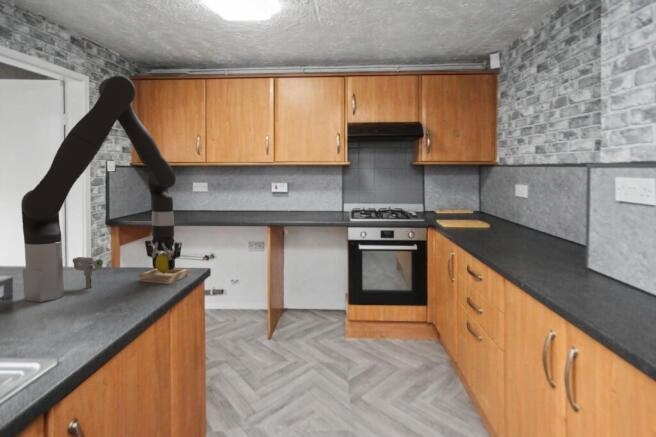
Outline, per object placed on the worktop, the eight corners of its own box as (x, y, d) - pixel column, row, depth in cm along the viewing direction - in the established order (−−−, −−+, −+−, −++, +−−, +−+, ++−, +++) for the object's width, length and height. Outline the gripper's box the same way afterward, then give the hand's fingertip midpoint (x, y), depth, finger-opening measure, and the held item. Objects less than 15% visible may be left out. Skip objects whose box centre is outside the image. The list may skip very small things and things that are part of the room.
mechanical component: (98, 290, 131) (97, 260, 129) (72, 287, 133) (70, 258, 132) (105, 287, 133) (104, 258, 132) (79, 285, 135) (78, 256, 134)
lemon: (156, 276, 143) (156, 254, 142) (155, 272, 148) (154, 251, 147) (172, 274, 146) (172, 253, 145) (170, 271, 150) (170, 250, 150)
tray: (168, 283, 140) (168, 277, 140) (139, 281, 142) (138, 274, 142) (188, 275, 152) (187, 269, 151) (160, 273, 154) (160, 267, 154)
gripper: (138, 223, 143) (139, 269, 144) (174, 225, 140) (175, 272, 141) (152, 221, 150) (153, 265, 152) (186, 223, 147) (187, 268, 149)
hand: (163, 268), depth 147 cm, fingers open, 5 cm apart
